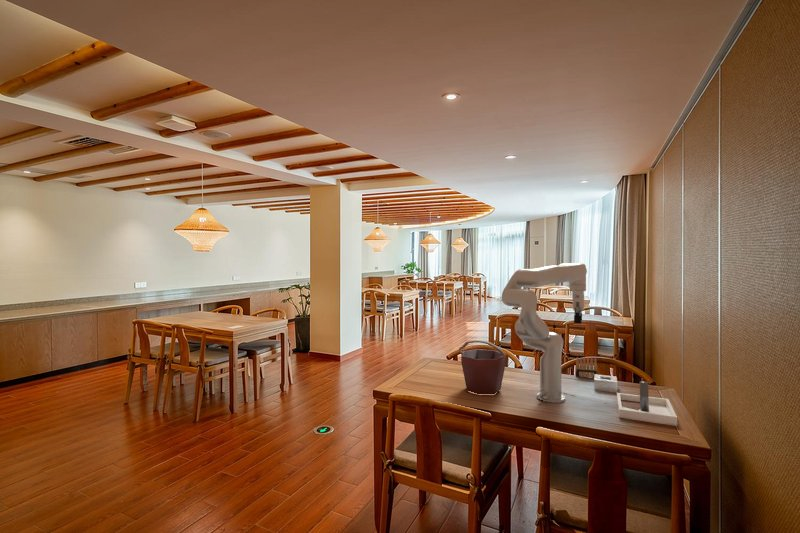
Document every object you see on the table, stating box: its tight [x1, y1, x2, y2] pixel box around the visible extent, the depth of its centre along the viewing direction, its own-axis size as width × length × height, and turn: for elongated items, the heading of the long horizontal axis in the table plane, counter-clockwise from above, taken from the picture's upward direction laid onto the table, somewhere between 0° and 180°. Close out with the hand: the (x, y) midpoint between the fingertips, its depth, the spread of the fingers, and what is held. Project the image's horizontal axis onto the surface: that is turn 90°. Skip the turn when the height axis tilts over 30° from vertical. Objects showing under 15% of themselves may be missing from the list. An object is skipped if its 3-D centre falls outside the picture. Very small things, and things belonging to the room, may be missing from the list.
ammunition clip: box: [575, 356, 598, 379], centre depth 216 cm, size 11×2×12 cm, turn 67°
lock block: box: [593, 373, 618, 394], centre depth 197 cm, size 10×10×6 cm
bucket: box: [458, 340, 507, 394], centre depth 201 cm, size 24×22×25 cm
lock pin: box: [639, 380, 650, 412], centre depth 169 cm, size 3×3×12 cm
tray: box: [616, 392, 678, 427], centre depth 169 cm, size 22×20×4 cm
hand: (578, 321), depth 199 cm, fingers open, 9 cm apart
